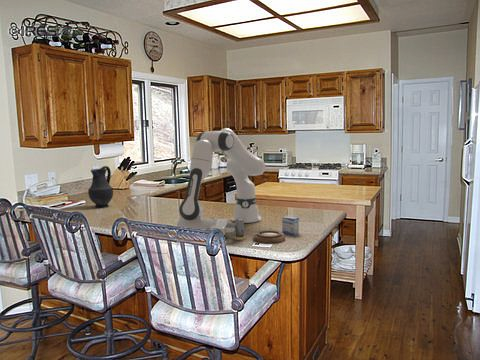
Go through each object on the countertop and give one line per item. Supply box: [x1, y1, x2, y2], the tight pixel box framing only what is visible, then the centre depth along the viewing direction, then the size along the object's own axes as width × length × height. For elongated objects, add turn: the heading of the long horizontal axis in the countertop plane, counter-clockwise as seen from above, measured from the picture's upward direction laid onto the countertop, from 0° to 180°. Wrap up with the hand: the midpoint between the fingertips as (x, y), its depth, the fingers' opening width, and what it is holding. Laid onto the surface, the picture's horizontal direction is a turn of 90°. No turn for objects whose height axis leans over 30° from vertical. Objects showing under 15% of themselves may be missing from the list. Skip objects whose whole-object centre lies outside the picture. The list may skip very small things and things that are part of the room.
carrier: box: [253, 229, 286, 244], centre depth 205 cm, size 16×16×3 cm
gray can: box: [233, 219, 247, 241], centre depth 206 cm, size 6×6×10 cm
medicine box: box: [281, 215, 300, 236], centre depth 216 cm, size 8×4×9 cm, turn 52°
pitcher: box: [87, 165, 114, 209], centre depth 303 cm, size 17×21×30 cm
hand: (235, 227), depth 207 cm, fingers open, 8 cm apart
